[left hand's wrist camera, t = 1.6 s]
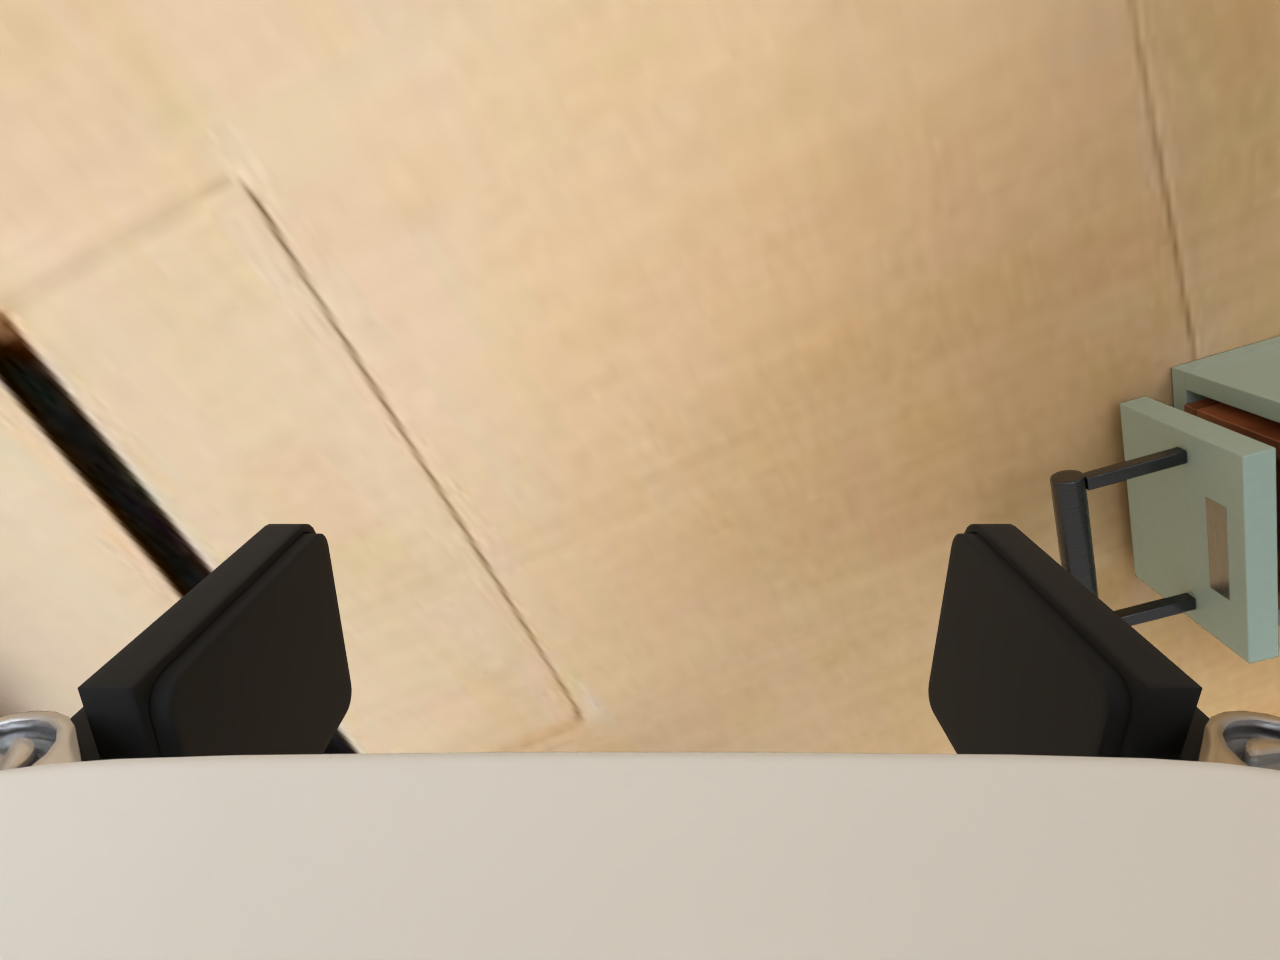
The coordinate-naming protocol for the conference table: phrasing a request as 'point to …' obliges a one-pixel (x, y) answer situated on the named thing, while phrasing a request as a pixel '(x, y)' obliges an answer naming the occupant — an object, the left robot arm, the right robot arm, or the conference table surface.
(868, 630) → the conference table surface
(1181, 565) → the drawer
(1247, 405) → the cabinet
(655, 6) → the conference table surface
